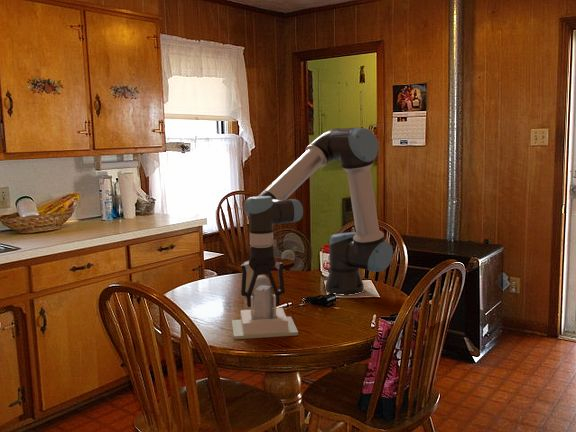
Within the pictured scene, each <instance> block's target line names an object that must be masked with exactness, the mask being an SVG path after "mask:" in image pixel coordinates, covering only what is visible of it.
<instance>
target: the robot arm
mask: <svg viewBox="0 0 576 432" xmlns="http://www.w3.org/2000/svg"><path fill="white" fill-rule="evenodd" d="M304 151H305V152H304V153H302V154H301V155H300V157H298V158H297V159H296V160H295V161H293V163H292V164H291V165H290V166H288V168H287V169H285V170H284V171H283V172H282V173H281V174H280V175H279V176H278V177H277V178H276V179H275V180H273V181H272V182H271V183H270V184H269V185H268V186H267V187H266V188H265V189H264V190H263V191H262V192H260V193H259V194H258V195H257V196H250V197H248V198H247V199H246V200H245V201H244V204H243V212H244V214H245V215H246V216H247V217H248V225H249V227H248V228H249V229H248V230H249V245H250V246H249V257H250V258H249V260H248V261H249V263H247V264H244V263H241V264H240V268H241V271H242V274H241V287H240V293H241V296H242V297H246V305H247V307H248V308H250V310H251V318H254V295H252V291H253V288H254V285H255V282H256V279H257V277H258V275H261V274H265V275H266V276H268V279H269V280H270V285H271V286H272V290H273V292H274V294H273V293H272V298H273V315H274V316H276V308H277V306H280V296H281V295H283V294H285V293H286V290H285V289H286V288H285V283H284V282H285V281H284V273H283V270H284V266H285V265H284V263H283V262H282V261H280V262H279V261H276V260H275V252H274V250H275V249H274V245H273V244H274V226H276V225H284V224H292V223H295V222H299V221H300V220H301V219H302V218H303V215H304V207H303V205H302V203H301V201H300V200H298V199H294V198H291V199H289V197H290V196H292V194H293V193H294V192H295V191H297V190H298V188H299V187H300V186H301V185H303V183H305V182H306V180H308V179H309V178H310V177H311V176H312V175H313V174H314V173H315V172H316V171H317V170H319V168H324V167H325V166H326V165H327V164H329V163H330V162H333V161H340V165H341V169H342V170H344V171H345V172H346V175H347V182H348V190H349V195H350V202H351V209H352V214H353V220H354V221H353V222H354V227H355V231H351V232H342V233H341V232H340V233H335V234H332V235H331V236H330V237H329V245H328V247H329V248H328V249H329V251H328V252H329V272H328V275H327V280H326V282H325V292H326V291H327V293H328V292H329V293H328V294H330V293H336V294H344V295H343V296H350V295H349V294H355V293H359V292H362V291H363V290H364V282H363V279H362V275H361V274H360V273H361V272H360V269H361V270H366V271H369V272H377V273H380V272H383V271H385V270H386V269H387V268H388V267H389V266H390V263H391V262H392V260H393V257H394V249H393V246H392V244H391V243H390V242H389V241H387V240H386V239H385V234H384V232H383V231H381V230H380V227H379V220H378V214H377V213H378V212H377V205H376V199H375V192H374V186H373V185H374V184H373V177H372V170H371V169H372V167H373V166H374V163H375V162H374V161H375V159H376V158H377V156H378V152H379V141H378V139H377V136H376V134H375V133H374V132H373V131H372V130H371V129H369V128H363V127H346V128H344V127H343V128H340V127H339V128H338V127H337V128H332V129H329V130H327V131H325V132H324V133H322V134H320V135H319V136H318V137H316V138H315V139H313V141H312V142H310V144H308V145H307V146H306V147H305V150H304ZM249 267H251V269H252V270H253V271H254V272H253V275H252V279H251V282H250V285H249V288H248V291H247V292H246V275H247V273H246V271H248V268H249ZM274 268H276V269H277V275H278V283H279V289H278V287H277V283H276V282H275V278H274V276H273V273H272V270H273V269H274ZM363 292H364V291H363ZM363 292H362V293H363ZM359 294H360V293H359ZM355 295H356V294H355Z"/></svg>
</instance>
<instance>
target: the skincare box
mask: <svg viewBox="0 0 576 432" xmlns="http://www.w3.org/2000/svg"><path fill="white" fill-rule="evenodd" d="M253 306H254V320H260V319H273V287H272V285H270V286H265V285H261V286H259V287H258V288H256V289H255V290H254V295H253Z"/></svg>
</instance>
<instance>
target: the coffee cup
mask: <svg viewBox="0 0 576 432" xmlns="http://www.w3.org/2000/svg"><path fill="white" fill-rule="evenodd" d="M249 261H250V260H247V261H244V262H243V264H247V263H249ZM253 272H254V271H253V270H252V269H251V267H249V268H248V271H246V273H247V275H246V290H245V291H246V292H247V291H248V288H249V285H250V282H251V279H252V275H253ZM261 275H263V276H266V277H267V275H265V274H261ZM261 275H258V276H261ZM254 290H255V288H253V291H252V294H251V296H254Z"/></svg>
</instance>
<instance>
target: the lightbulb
mask: <svg viewBox="0 0 576 432" xmlns="http://www.w3.org/2000/svg"><path fill="white" fill-rule="evenodd" d="M261 285H265V286H271V281H270V279H269V277H267V275H266V276H263V275H261V276H258V277H257V279H256V282H255V285H254V288H255V289H256V288H258V287H259V286H261Z"/></svg>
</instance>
